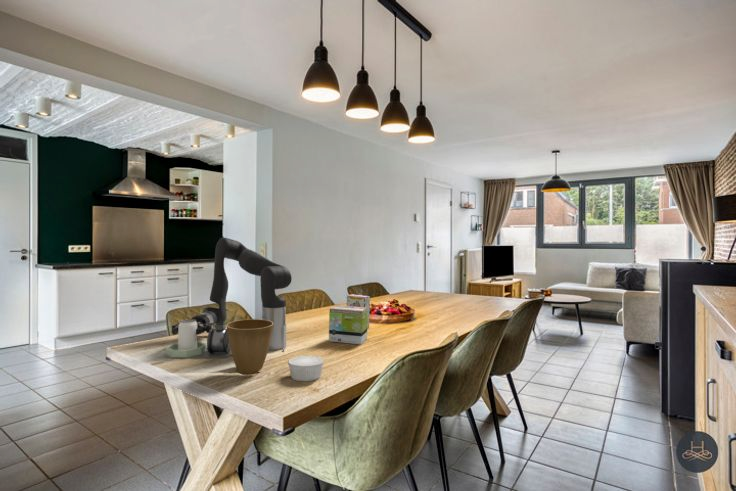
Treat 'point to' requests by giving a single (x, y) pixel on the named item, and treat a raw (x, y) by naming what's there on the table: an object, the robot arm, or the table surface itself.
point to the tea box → (348, 324)
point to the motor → (218, 339)
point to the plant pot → (249, 343)
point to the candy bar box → (359, 303)
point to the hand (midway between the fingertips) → (185, 332)
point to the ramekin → (305, 368)
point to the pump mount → (192, 352)
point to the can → (187, 334)
